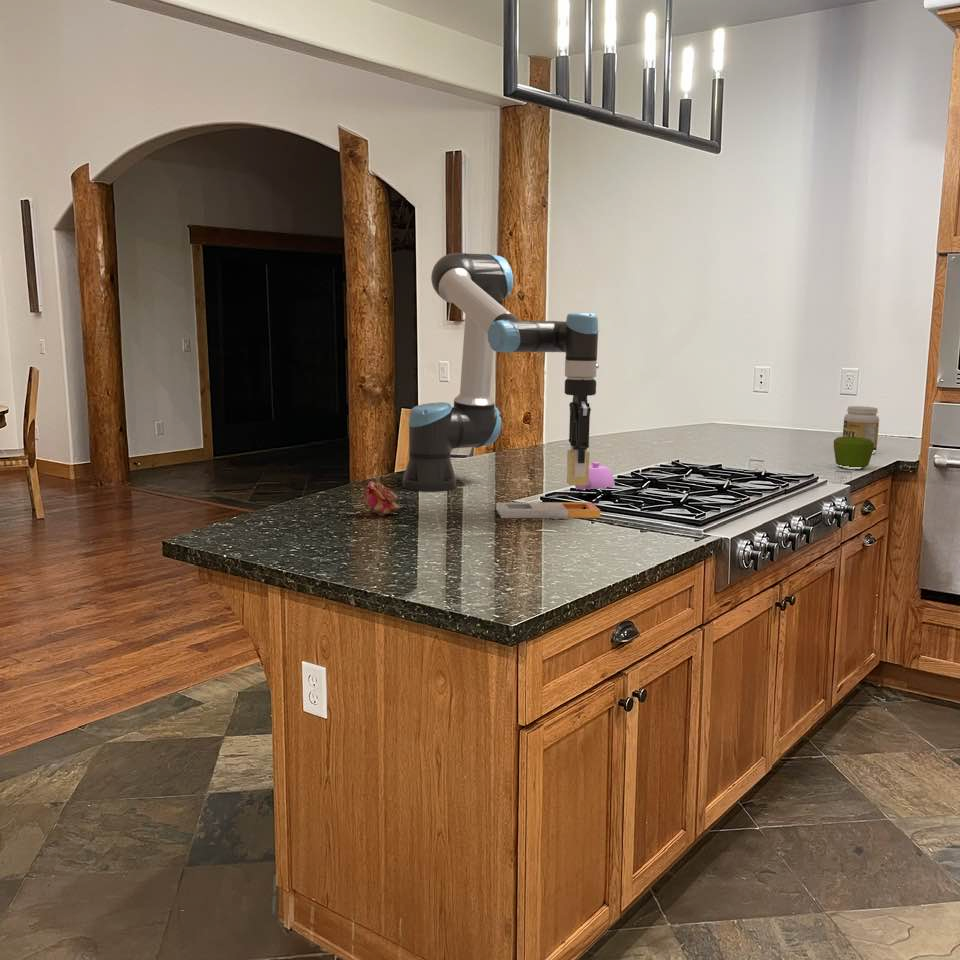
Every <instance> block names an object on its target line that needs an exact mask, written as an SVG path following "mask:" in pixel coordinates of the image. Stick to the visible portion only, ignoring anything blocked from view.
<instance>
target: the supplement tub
mask: <svg viewBox="0 0 960 960" xmlns="http://www.w3.org/2000/svg"><path fill="white" fill-rule="evenodd" d="M846 412H847V413H846V414H845V415H844V417H843V418H844V419H843V427H842V428H843V429H842V437H853V435H854V437H860V438H866V439H870V440H871V441H872V442H873V443H874V449H873V450H876V451H877V450H878V449H877V447H878V438H879V425H880V417H879V416H878V415H877V414H878V413H879V411H878V408H877V407H871V406H859V405H857V406H856V405H855V406H854V405H851V406H847V411H846Z"/></svg>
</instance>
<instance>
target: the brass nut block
mask: <svg viewBox="0 0 960 960" xmlns="http://www.w3.org/2000/svg"><path fill="white" fill-rule="evenodd" d="M566 455H567V459H566V461H567V462H566V483H567V484H568V485H569V486H575V485H588V484H589V465H590V451H588V450H587V452H586V477H574V461H575V450H571V449H567V454H566Z"/></svg>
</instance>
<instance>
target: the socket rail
mask: <svg viewBox="0 0 960 960" xmlns="http://www.w3.org/2000/svg"><path fill="white" fill-rule="evenodd" d="M584 507H585V508H586V509H581V508H584ZM495 510H496V512H497V514H498V516H500V519H601V509H600V508H598V507H597V506H596V505H595V503H593V502H590V501H589V502H587V501H586V502H583V501H582V502H580V501H579V502H575V501H574V502H566V501H565V502H562V501H561V502H554V501H553V502H551V501H550V502H549V501H548V502H547V501H546V502H541V501H539V502H537V501H535V502H532V501H531V502H520V501H519V502H518V501H517V502H505V501H504V502H500V501H499V502H496V509H495Z"/></svg>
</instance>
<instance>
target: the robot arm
mask: <svg viewBox="0 0 960 960" xmlns="http://www.w3.org/2000/svg"><path fill="white" fill-rule="evenodd" d="M430 277H431V278H430V280H431V285H432V289H433V290H434V291H435V293H436V294H437V295H438V296H439V297H440V298H441V299H442V300H443V301H445V302H447V303H451V304H454V305H455V306H456V307H457V308H458V309H459V310H460V311H462V312H463V313H464V317H465V318H464V330H463V331H464V332H463V346H462V358H461V371H460V372H461V373H460V388H459V394H458V395H457V396H456V397H454V399H453V406H452V405H451V404H450V402H431V403H430V402H428V403H423V404H419V405H415V406H414V407H412V408H411V409H410V411H409V417H408V419H409V420H408V462H407V465H406V468H405V471H404V474H403V477H402V487H403V488H404V489H406V490H410V491H411V490H412V491H419V492H443V491H450V490H453V489H454V490H455V489H456V488H457V476H456V474H455V470H454V468H453V464H452V461H451V451H452V450H451V449H465V448H466V449H467V448H476V449H478V448H481V447H488V446H491V445H492V444H494V442H496V441H497V439H498V437H499V435H500V434H501V430H502V417H501V412H500V410H499V409H498V407H496V406H495V404H496V401H494V399H493V398H492V397H491V388H492V387H491V386H492V375H493V374H492V373H493V362H494V352H496V353H497V352H498V353H505V354H511V353H565V359H564V376H565V377H566V379H565V380H564V394H565V395H566V396H572V401H571V402H569V404H568V405H569V428H568V429H569V431H568V432H569V433H568V442H569V445H570V450H575V461H574V477H586V452H587V451H588V450H587V449H589V448H590V424H591V423H590V422H591V421H590V420H591V419H590V418H591V411H592V408H591V406H590V403H589V402H588V396H591V397H592V396H595V395H596V394H597V381H596V379H594V378H596V377H597V369H600V368H599V367H600V365H599V364H597V363H598V362H597V361H598V343H599V342H598V341H599V332H600V331H599V330H600V329H599V319H598V315H597V314H596V313H594V312H593V313H590V312H589V313H588V312H587V313H586V312H585V313H583V312H578V313H577V312H569V313H568V314H567V316H566V320H565V321H563V320H561V321H560V320H559V321H558V320H521V319H518V317H516V316H515V315H514V314H513V313H511V312H510V311H509V310H508V309H506V308H505V307H504V306H503V305H504V304H503V303H504V299H506V298H508V297H509V296H510V295H511V292H512V291H513V287H514V275H513V271H512V267H511V265H510V264H509V261H508V260H507V259H506V258H505V257H503V256H501V255H495V254H490V253H466V252H465V253H464V252H453V253H452V252H451V253H448V254H446V255H444V256H442V257H441V258H439V260H437V262H435V264H434V266H433V268H432V270H431V276H430Z"/></svg>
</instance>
